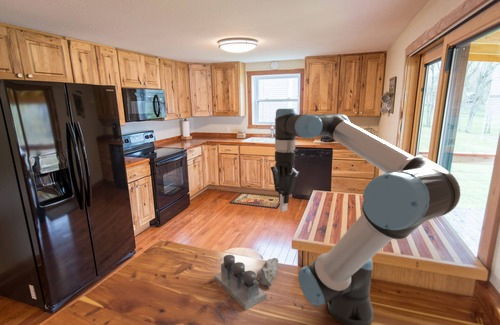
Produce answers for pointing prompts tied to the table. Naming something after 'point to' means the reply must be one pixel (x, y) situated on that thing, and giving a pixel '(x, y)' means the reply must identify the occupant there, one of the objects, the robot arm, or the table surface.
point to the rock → (268, 272)
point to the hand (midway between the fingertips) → (283, 210)
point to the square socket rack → (239, 287)
